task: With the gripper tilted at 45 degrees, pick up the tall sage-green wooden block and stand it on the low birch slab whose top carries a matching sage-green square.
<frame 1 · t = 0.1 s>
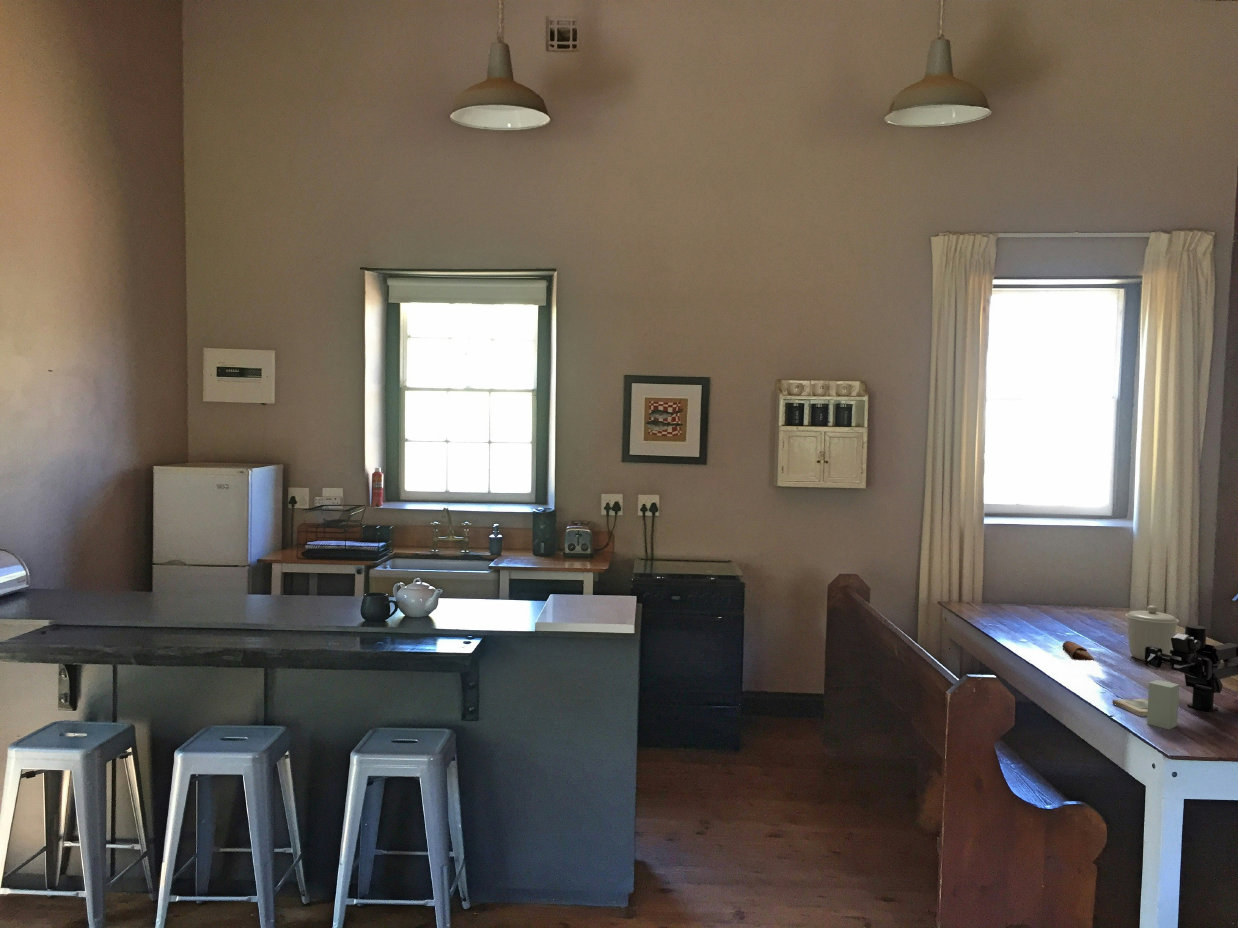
hand: (1162, 665, 271), 17 cm above the table, tool horizontal, fingers open, 9 cm apart
sunglasses case: (1078, 656, 352), on the table
sage block: (1161, 724, 267), on the table
canister: (1149, 659, 348), on the table
birch slab: (1142, 711, 282), on the table
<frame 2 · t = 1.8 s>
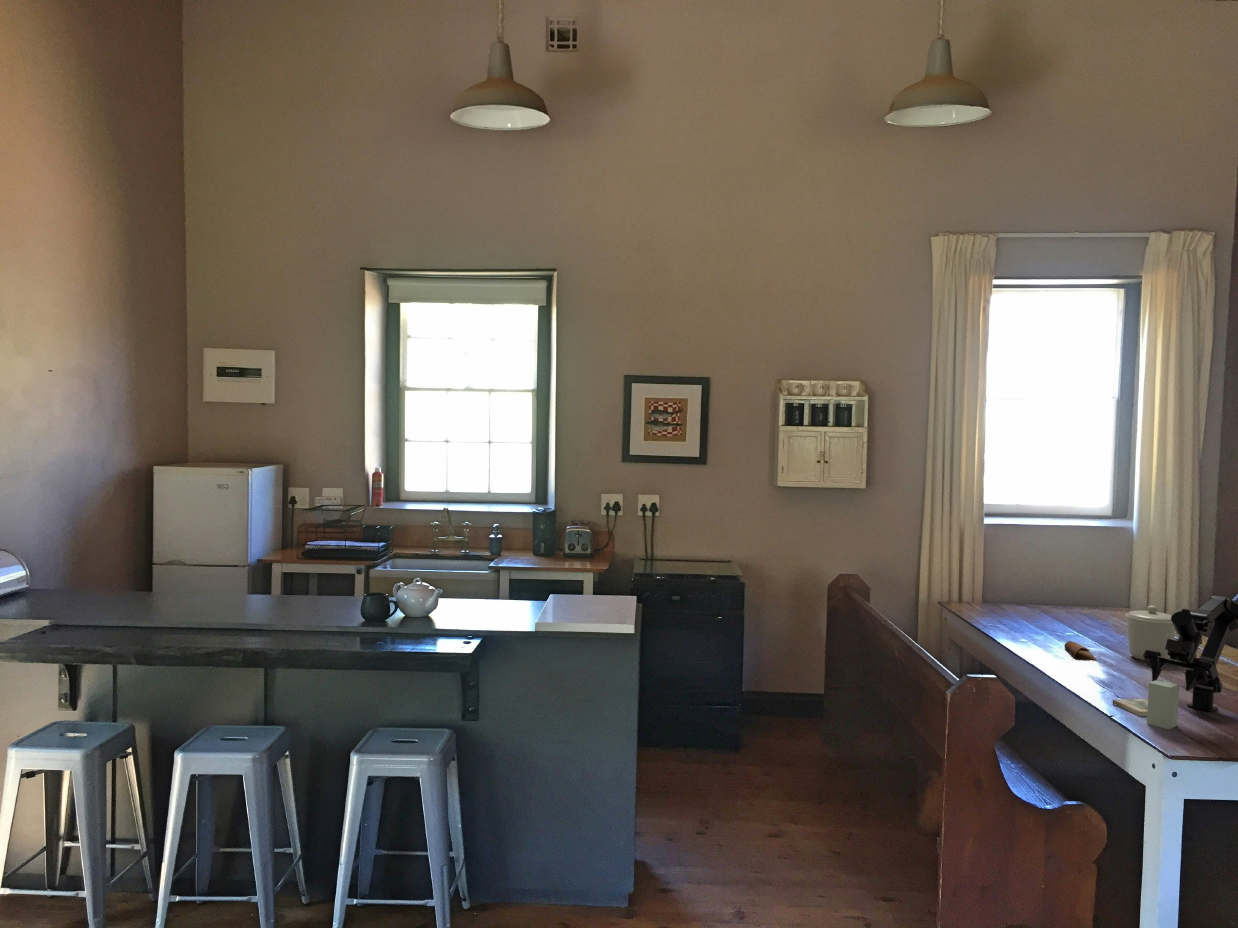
hand: (1169, 686, 269), 11 cm above the table, tool tilted 45°, fingers open, 9 cm apart
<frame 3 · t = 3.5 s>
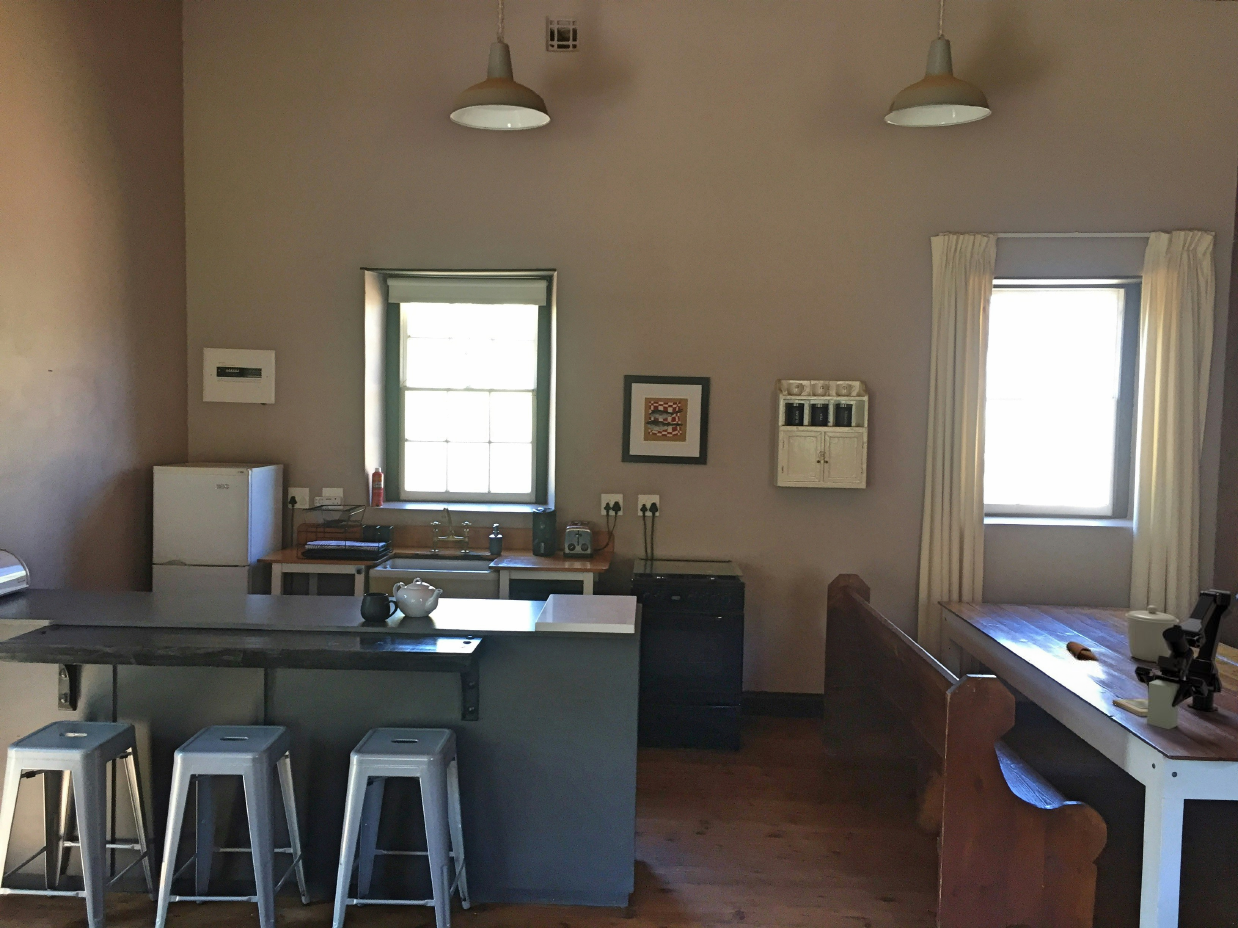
hand: (1160, 703, 266), 7 cm above the table, tool tilted 45°, fingers closed on sage block, 6 cm apart
sage block: (1161, 724, 267), on the table, touching gripper
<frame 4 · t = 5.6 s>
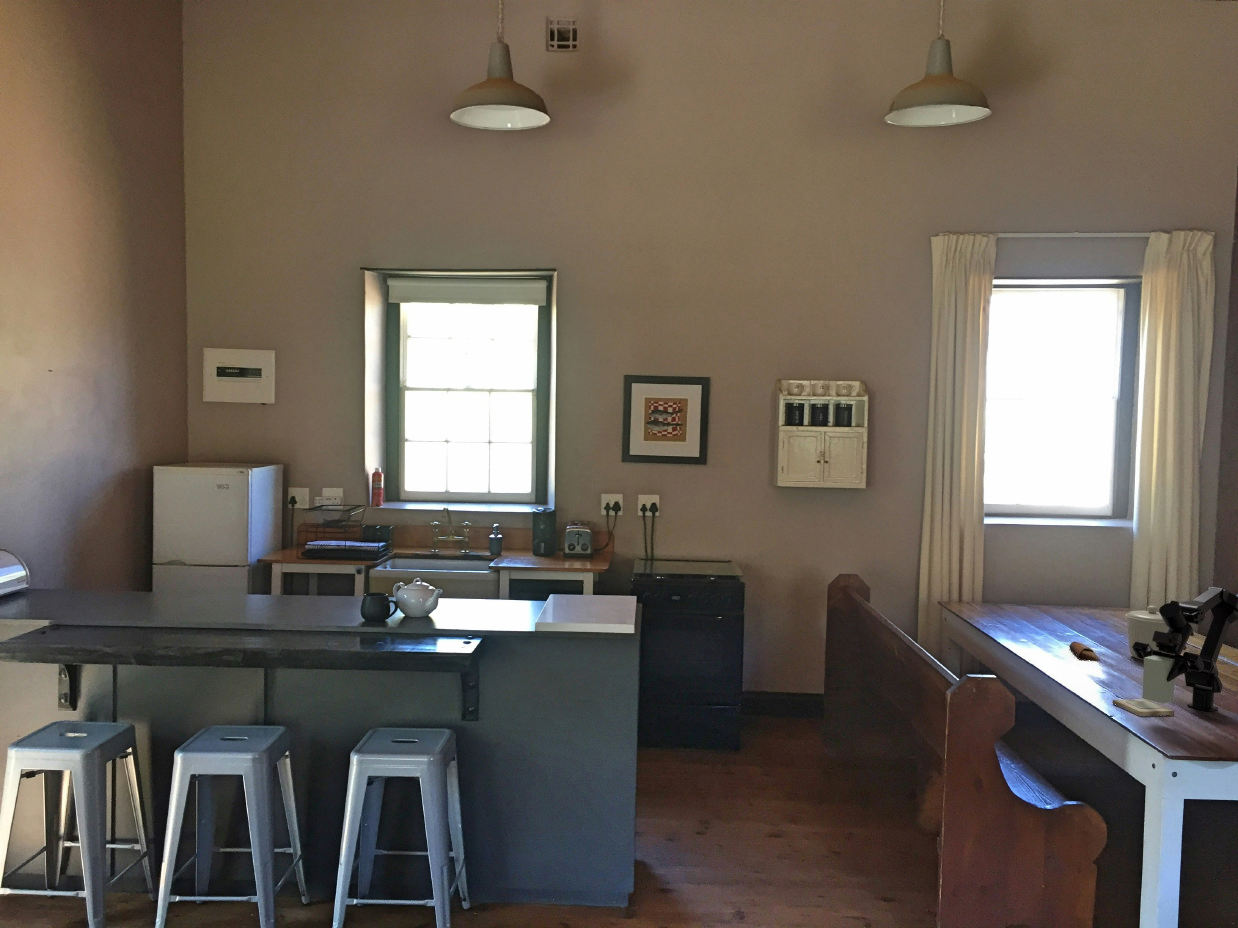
hand: (1156, 678, 268), 13 cm above the table, tool tilted 45°, fingers closed on sage block, 6 cm apart
sage block: (1157, 699, 269), point 7 cm above the table, touching gripper
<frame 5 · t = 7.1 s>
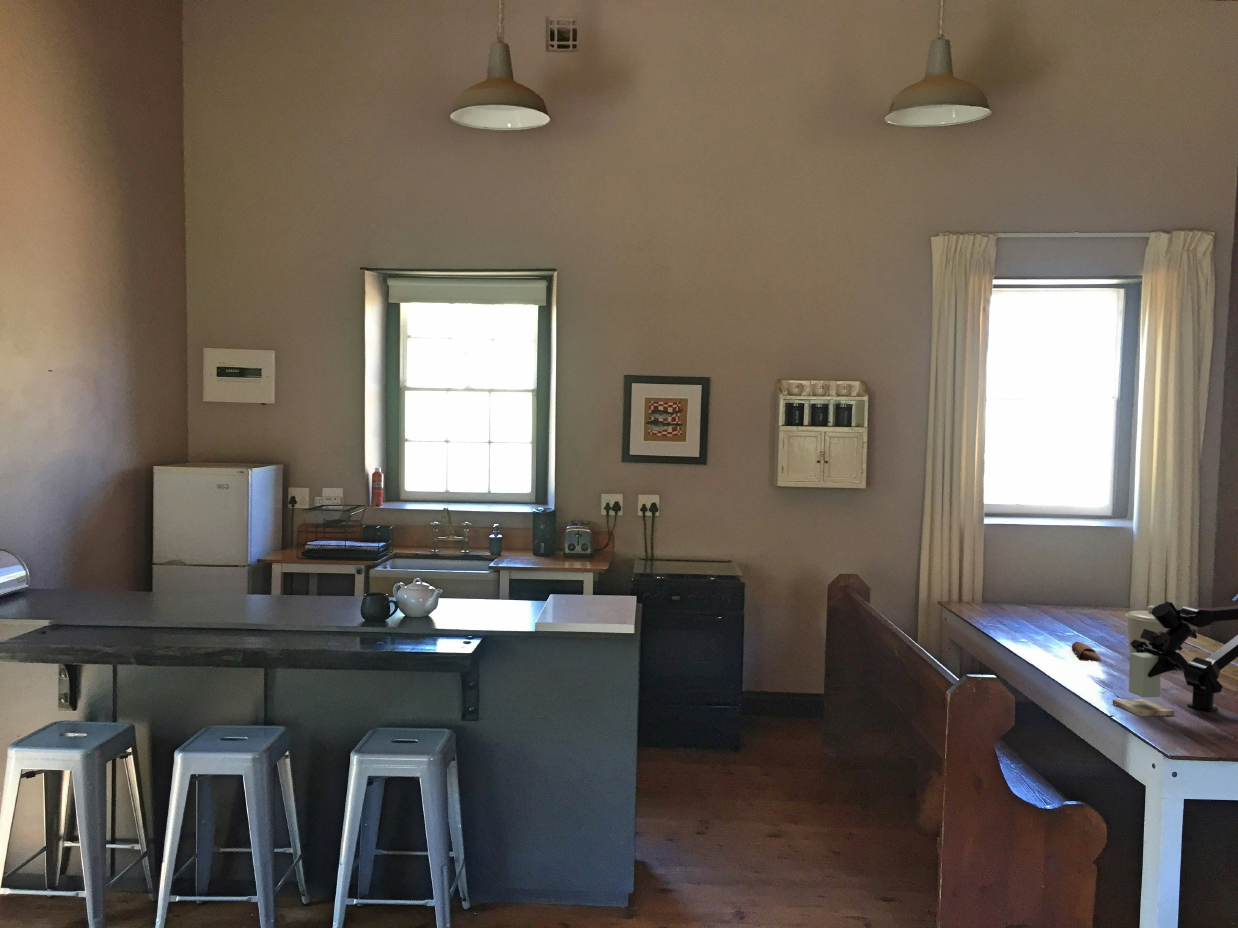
hand: (1141, 673, 281), 12 cm above the table, tool tilted 45°, fingers closed on sage block, 6 cm apart
sage block: (1143, 694, 281), point 5 cm above the table, touching gripper
when the fingers open (10 cm above the table, at t = 8.0 s): sage block drops 2 cm, point 1 cm above the table.
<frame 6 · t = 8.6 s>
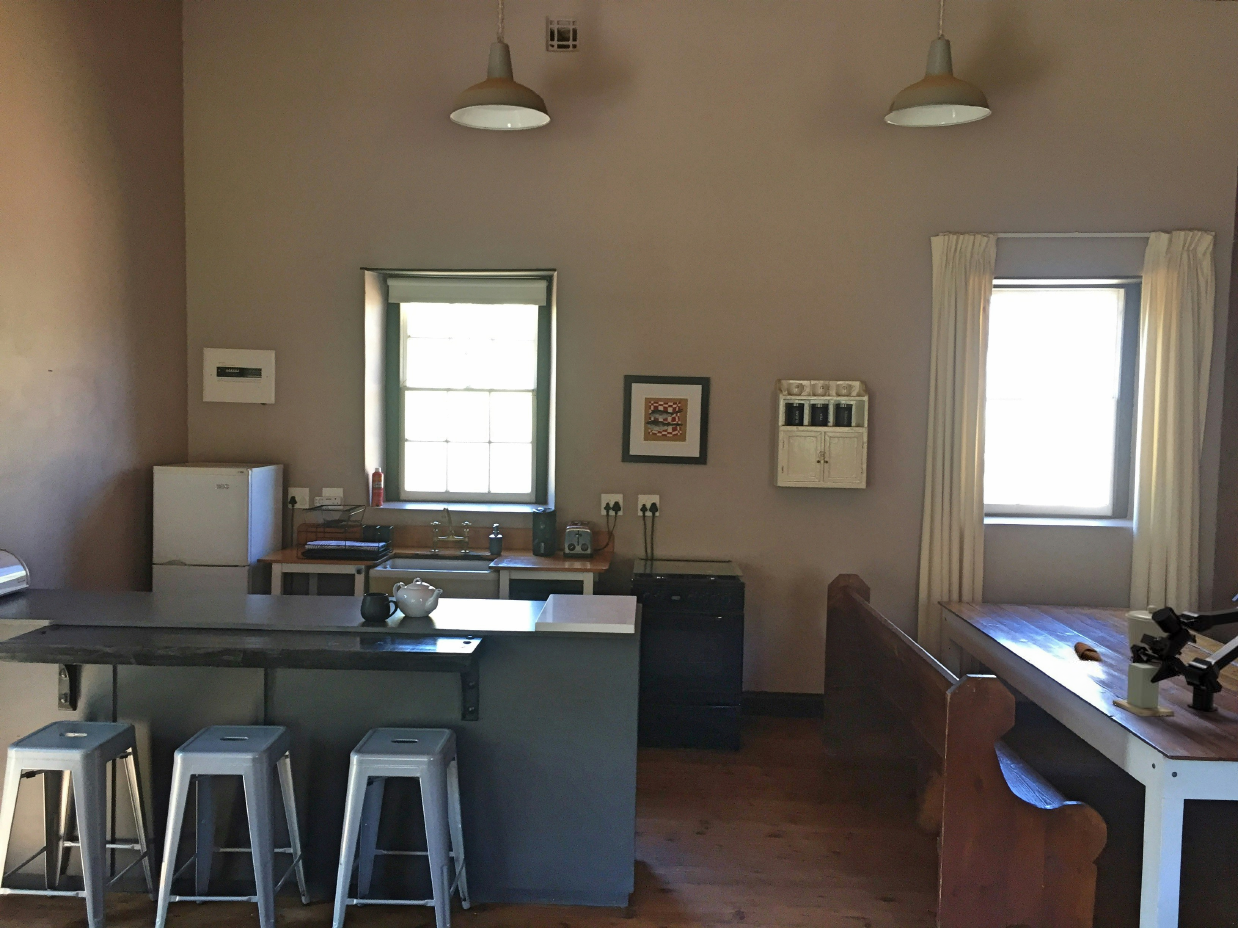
hand: (1140, 678, 281), 10 cm above the table, tool tilted 45°, fingers open, 9 cm apart
sage block: (1142, 704, 282), point 1 cm above the table
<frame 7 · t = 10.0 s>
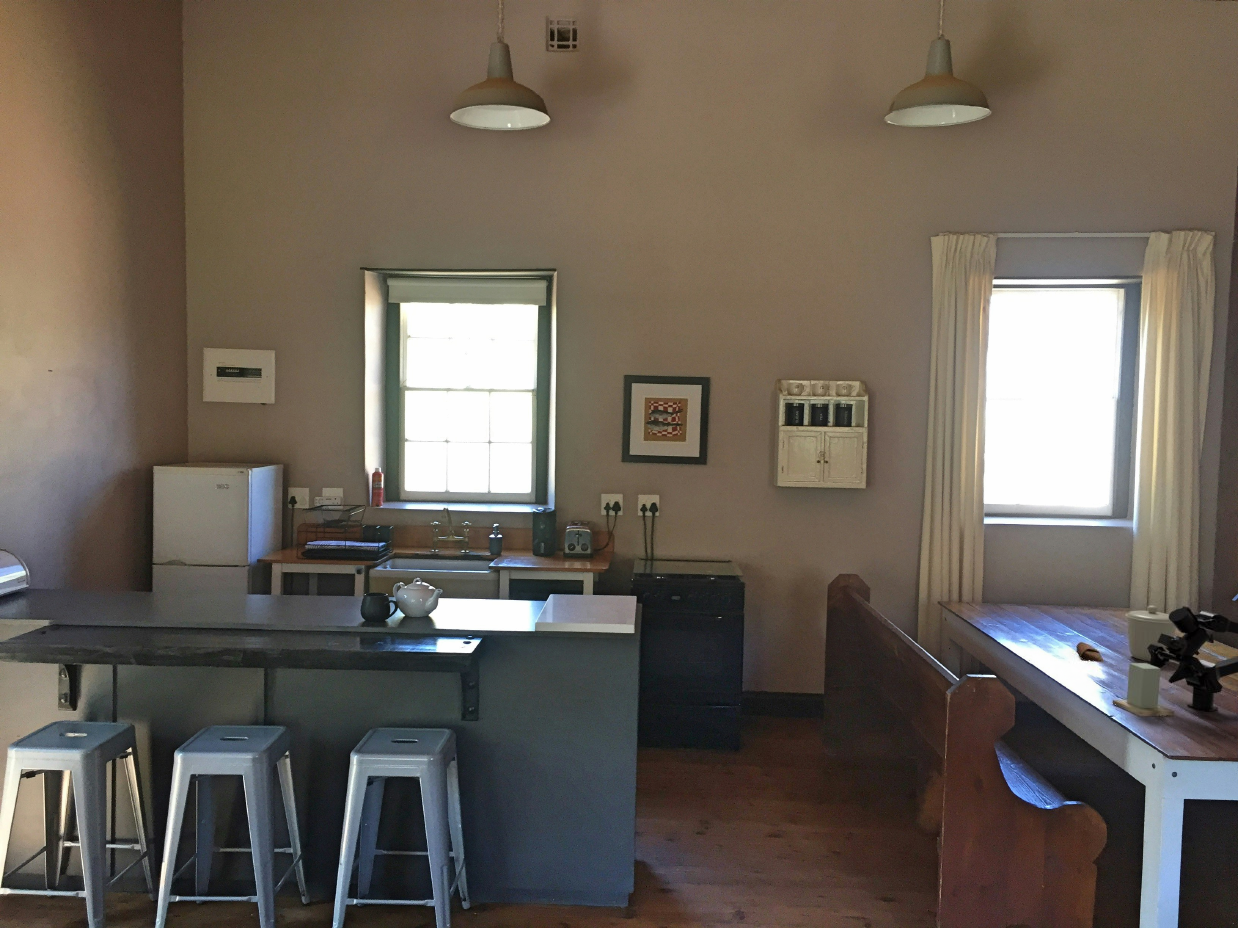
hand: (1158, 677, 282), 10 cm above the table, tool tilted 45°, fingers open, 9 cm apart
sage block: (1141, 704, 281), point 2 cm above the table, touching birch slab
birch slab: (1142, 711, 282), on the table, touching sage block
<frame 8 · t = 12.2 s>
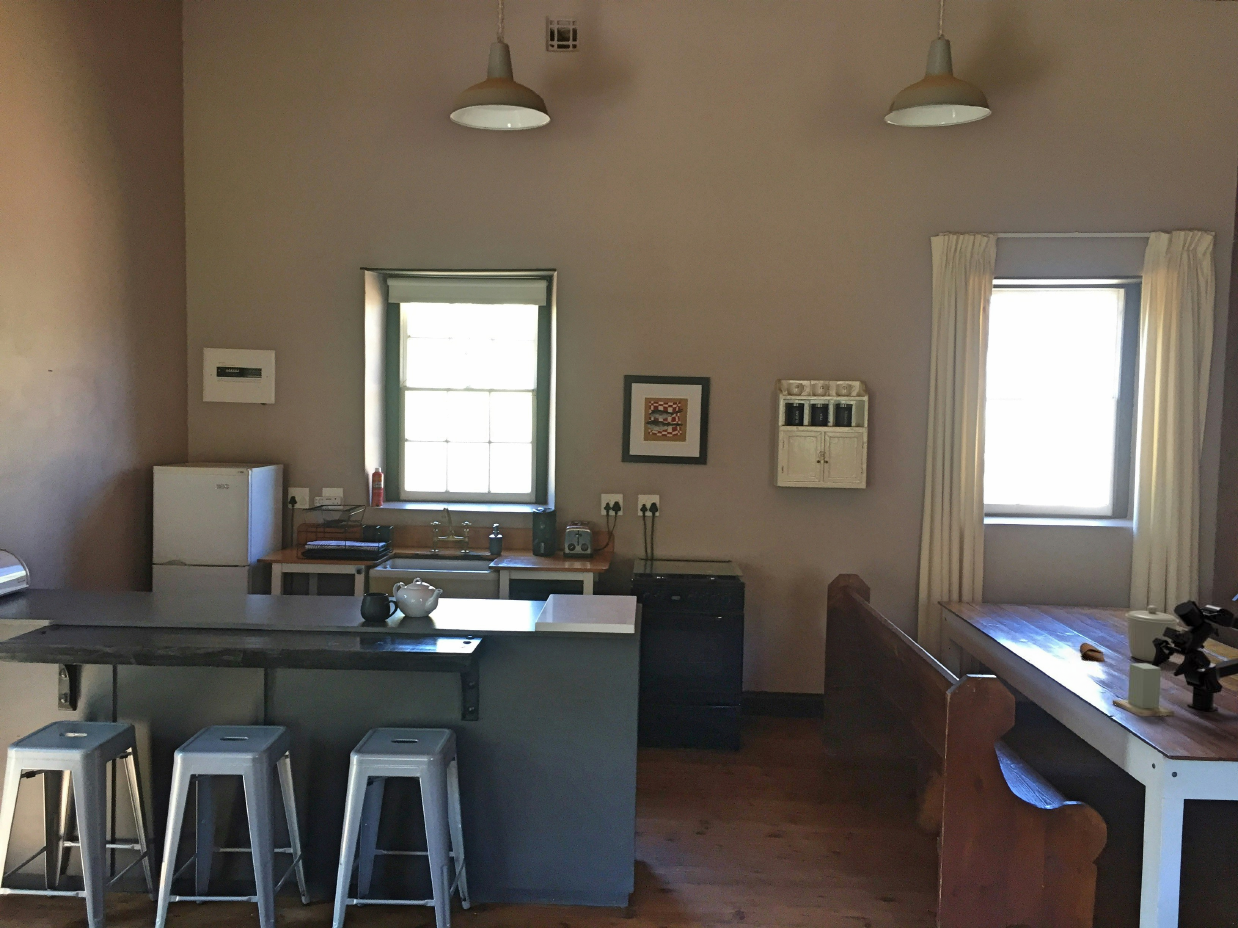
hand: (1163, 671, 282), 12 cm above the table, tool tilted 45°, fingers open, 9 cm apart
sage block: (1143, 704, 281), point 1 cm above the table
birch slab: (1142, 711, 282), on the table
at the end: sage block 0.1 cm off-centre on the birch slab, point 2.2 cm above the birch slab's base; sage block tilted 1°; the gripper is holding nothing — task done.
